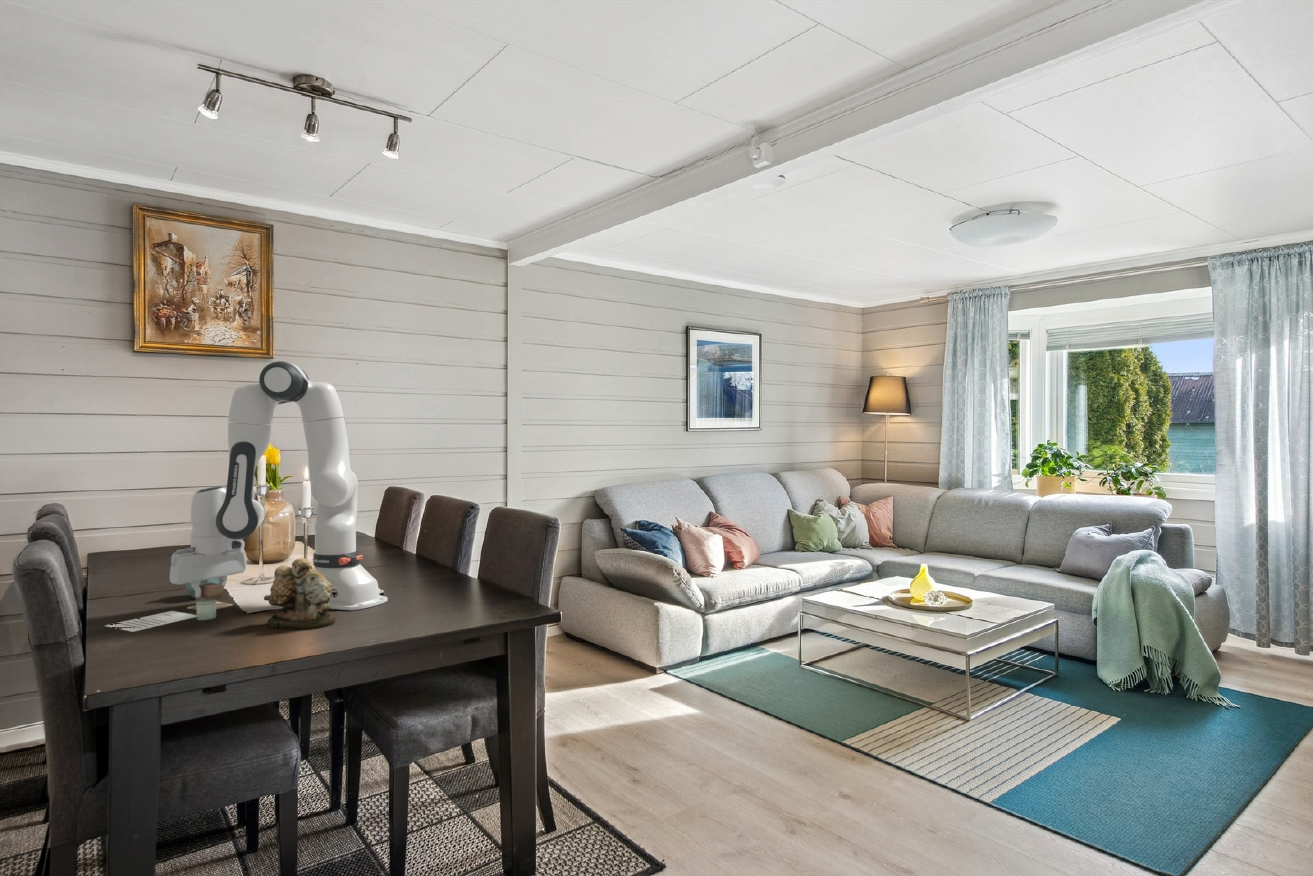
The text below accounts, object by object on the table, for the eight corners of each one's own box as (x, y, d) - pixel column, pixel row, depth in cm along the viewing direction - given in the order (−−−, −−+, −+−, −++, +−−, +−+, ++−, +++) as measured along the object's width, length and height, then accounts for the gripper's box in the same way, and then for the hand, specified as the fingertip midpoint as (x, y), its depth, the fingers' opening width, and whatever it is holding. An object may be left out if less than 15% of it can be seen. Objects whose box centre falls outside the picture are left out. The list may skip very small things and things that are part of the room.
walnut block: (222, 598, 213) (222, 584, 213) (208, 601, 209) (208, 587, 209) (209, 596, 215) (209, 582, 215) (195, 599, 212) (195, 585, 212)
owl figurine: (252, 629, 191) (252, 562, 191) (278, 618, 203) (277, 554, 203) (322, 630, 190) (322, 562, 190) (344, 618, 202) (343, 554, 202)
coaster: (233, 606, 214) (233, 604, 214) (205, 612, 207) (205, 610, 207) (214, 603, 218) (214, 601, 218) (187, 609, 210) (187, 607, 210)
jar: (220, 618, 201) (220, 599, 201) (203, 622, 197) (203, 603, 197) (209, 616, 203) (209, 597, 203) (192, 620, 199) (192, 601, 199)
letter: (199, 617, 202) (199, 615, 202) (132, 633, 187) (132, 631, 187) (172, 611, 208) (172, 610, 208) (104, 626, 192) (104, 625, 192)
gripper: (178, 551, 201) (178, 603, 201) (249, 541, 219) (249, 588, 220) (164, 549, 204) (164, 600, 204) (235, 539, 222) (235, 586, 223)
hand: (209, 594), depth 212 cm, fingers closed on walnut block, 4 cm apart
